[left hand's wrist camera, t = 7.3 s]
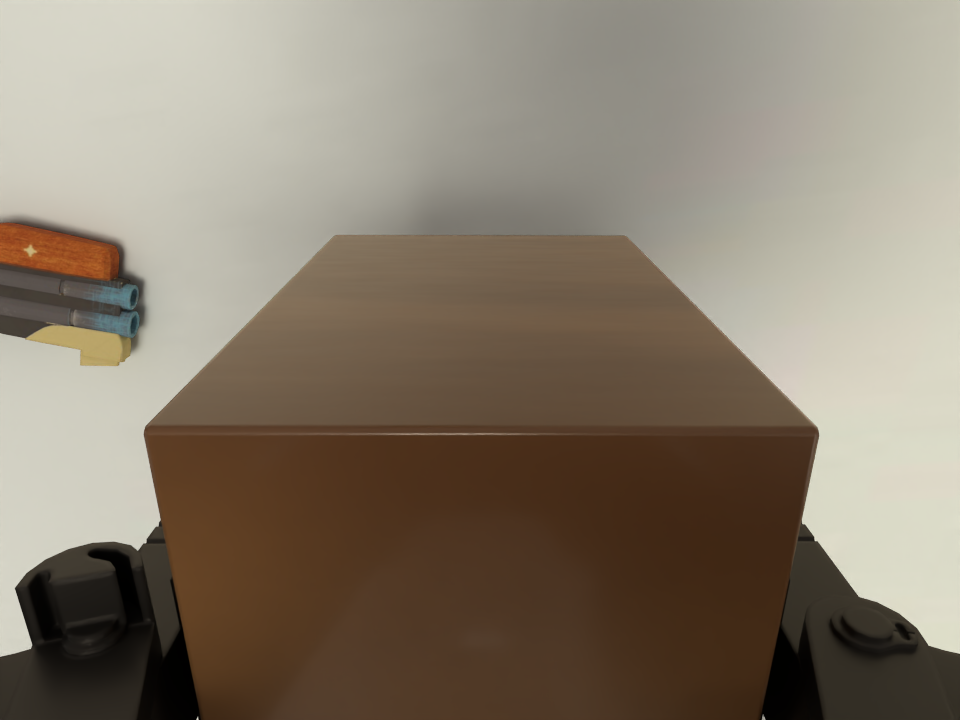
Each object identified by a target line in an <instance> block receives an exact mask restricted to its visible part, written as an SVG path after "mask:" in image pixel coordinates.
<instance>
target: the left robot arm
mask: <svg viewBox="0 0 960 720" xmlns="http://www.w3.org/2000/svg"><path fill="white" fill-rule="evenodd" d="M15 590H16V593H17V596H18V600H19V603H20V606H21V609H22V613H23V616H24V619H25V622H26V625H27V629H28V632H29V635H30V638H31V642H32V648H31V649H29V650H26V651H22V652H19V653H15V654H11V655H7V656H2V657H0V720H196V719H197V717H198V719H199V720H201V717H200V712H199V707H198V702H197V697H196V692H195V687H194V682H193V677H192V672H191V667H190V662H189V657H188V652H187V647H186V642H185V637H184V632H183V627H182V622H181V617H180V612H179V607H178V602H177V597H176V592H175V587H174V582H173V577H172V572H171V567H170V562H169V557H168V552H167V547H166V542H165V538H164V533H163V528H162V523H161V521H160V522H159V527H155V529H154V530H153V532H152V533H151V534H150V536H149V537H148V538H147V543H146V544H143V545H142V546H141V548H140V549H139V550H138V551H137V550H136V549H135V548H134V547H132V546H131V545H127V544H122V543H117V542H102V543H91V544H87V545H83V546H79V547H75V548H71V549H68V550H66V551H64V552H61V553H59V554H57V555H55V556H53V557H50V558H48V559H46V560H44V561H43V562H42V563H40V564H39V565H37V566H36V567H35V568H33V569H32V570H30V571H29V572H28V573H26V575H25V576H24V577H23V579H22V580H21V581H20V582H19V584H18V585H17V586H16V587H15ZM763 715H764V717H765V719H766V720H960V654H958V653H953V652H949V651H944V650H941V649H938V648H934V647H931V646H928V644H927V643H926V641H925V640H924V638H923V637H922V635H921V634H920V632H919V631H918V629H917V628H916V627H915V626H913V625H912V624H911V623H910V622H909V621H907V620H906V619H905V618H904V617H903V616H901V615H900V614H899V613H897V612H895V611H893V610H891V609H889V608H887V607H885V606H883V605H881V604H879V603H877V602H874V601H871V600H867V599H864V598H860V597H859V596H858V595H857V594H856V592H855V591H854V590H853V588H852V587H851V586H850V584H849V583H848V582H847V580H846V579H845V578H844V576H843V575H842V574H841V572H840V571H839V570H838V568H837V567H836V566H835V564H834V563H833V562H832V560H831V559H830V558H829V556H828V555H827V554H826V552H825V551H824V549H823V548H822V547H821V545H820V544H819V543H818V541H814V536H813V535H812V533H811V532H810V531H809V529H808V528H807V527H806V525H805V524H802V520H801V525H800V530H799V535H798V540H797V545H796V549H795V554H794V559H793V564H792V569H791V573H790V578H789V583H788V588H787V593H786V597H785V602H784V607H783V612H782V617H781V622H780V626H779V631H778V636H777V641H776V646H775V650H774V655H773V660H772V665H771V670H770V674H769V679H768V684H767V689H766V694H765V698H764V703H763V708H762V713H761V718H760V720H762V716H763Z"/></svg>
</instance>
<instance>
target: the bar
mask: <svg viewBox="0 0 960 720" xmlns="http://www.w3.org/2000/svg"><path fill="white" fill-rule="evenodd" d="M144 438H145V443H146V448H147V453H148V458H149V463H150V468H151V473H152V478H153V483H154V488H155V493H156V498H157V503H158V508H159V513H160V518H161V523H162V528H163V533H164V538H165V542H166V547H167V552H168V557H169V562H170V567H171V572H172V577H173V582H174V587H175V592H176V597H177V602H178V607H179V612H180V617H181V622H182V627H183V632H184V637H185V642H186V647H187V652H188V657H189V662H190V667H191V672H192V677H193V682H194V687H195V692H196V697H197V702H198V707H199V712H200V717H201V720H760V718H761V713H762V708H763V703H764V698H765V694H766V689H767V684H768V679H769V674H770V670H771V665H772V660H773V655H774V650H775V646H776V641H777V636H778V631H779V626H780V622H781V617H782V612H783V607H784V602H785V597H786V593H787V588H788V583H789V578H790V573H791V569H792V564H793V559H794V554H795V549H796V545H797V540H798V535H799V530H800V525H801V520H802V516H803V511H804V506H805V501H806V496H807V492H808V487H809V482H810V477H811V472H812V468H813V463H814V458H815V453H816V448H817V444H818V439H819V431H818V428H817V427H816V426H815V425H814V424H813V423H812V422H811V421H810V420H809V419H808V418H807V417H806V416H805V415H804V414H803V413H802V412H801V411H800V410H799V409H798V408H797V407H796V406H795V405H794V404H793V403H792V402H791V401H790V400H789V399H788V398H787V397H786V396H785V395H784V394H783V393H782V392H781V391H780V390H779V389H778V388H777V387H776V386H775V385H774V384H773V383H772V382H771V381H770V380H769V379H768V377H767V376H766V375H765V374H764V373H763V372H762V371H761V370H760V369H759V368H758V367H757V366H756V365H755V364H754V363H753V362H752V361H751V360H750V359H749V358H748V357H747V356H746V355H745V354H744V353H743V352H742V351H741V350H740V349H739V348H738V347H737V346H736V345H735V344H734V343H733V342H732V341H731V340H730V339H729V338H728V337H727V336H726V335H725V334H724V333H723V332H722V331H721V330H720V329H719V328H718V327H717V326H716V325H715V324H714V323H713V322H712V321H711V320H710V319H709V318H708V317H707V316H706V315H705V314H704V313H703V312H702V311H701V310H700V309H699V308H698V307H697V306H696V305H695V304H694V303H693V302H692V301H691V300H690V299H689V298H688V297H687V296H686V295H685V294H684V293H683V292H682V291H681V290H680V289H679V288H678V287H677V286H676V285H675V284H674V283H673V282H672V281H671V280H670V279H669V278H668V277H667V276H666V275H665V274H664V273H663V272H662V271H661V270H660V269H659V268H658V267H657V266H656V265H655V264H654V263H653V262H652V261H651V260H650V259H649V258H648V257H647V256H646V255H645V254H644V253H643V252H642V251H641V250H640V249H639V248H638V247H637V246H636V245H635V244H634V243H633V242H632V241H631V240H630V239H629V238H628V237H626V236H570V235H335V236H334V237H333V238H332V239H331V240H330V241H329V242H328V243H327V244H326V245H325V246H324V247H323V248H322V249H321V250H320V251H319V252H318V253H317V254H316V255H315V256H314V257H313V258H312V259H311V260H310V261H309V262H308V263H307V264H306V265H305V266H304V267H303V268H302V269H301V270H300V271H299V272H298V273H297V274H296V275H295V276H294V277H293V278H292V279H291V280H290V281H289V282H288V283H287V284H286V285H285V286H284V287H283V288H282V289H281V290H280V291H279V292H278V293H277V294H276V295H275V296H274V297H273V298H272V299H271V300H270V301H269V302H268V303H267V304H266V305H265V306H264V307H263V308H262V309H261V310H260V311H259V312H258V313H257V314H256V315H255V316H254V317H253V318H252V319H251V320H250V321H249V322H248V323H247V324H246V325H245V326H244V327H243V328H242V329H241V330H240V331H239V332H238V333H237V335H236V336H235V337H234V338H233V339H232V340H231V341H230V342H229V343H228V344H227V345H226V346H225V347H224V348H223V349H222V350H221V351H220V352H219V353H218V354H217V355H216V356H215V357H214V358H213V359H212V360H211V361H210V362H209V363H208V364H207V365H206V366H205V367H204V368H203V369H202V370H201V371H200V372H199V373H198V374H197V375H196V376H195V377H194V378H193V379H192V380H191V381H190V382H189V383H188V384H187V385H186V386H185V387H184V388H183V389H182V390H181V391H180V392H179V393H178V394H177V395H176V396H175V397H174V398H173V399H172V400H171V401H170V402H169V403H168V404H167V405H166V406H165V407H164V408H163V409H162V410H161V411H160V412H159V413H158V414H157V415H156V416H155V417H154V418H153V419H152V420H151V421H150V422H149V423H148V424H147V425H146V427H145V430H144Z"/></svg>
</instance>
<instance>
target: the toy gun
mask: <svg viewBox="0 0 960 720" xmlns="http://www.w3.org/2000/svg"><path fill="white" fill-rule="evenodd" d="M118 269H119V253H118V250H117V247H116V246H114V245H110V244H106V243H102V242H98V241H94V240H89V239H85V238H81V237H77V236H72V235H68V234H63V233H58V232H54V231H49V230H44V229H40V228H35V227H30V226H26V225H21V224H16V223H0V333H2V334H7V335H12V336H17V337H22V338H25V339H27V340H31V341H36V342H42V343H47V344H53V345H58V346H64V347H69V348H75V349H80V350H81V360H80V365H88V366H118V365H119V362H124V361H125V359H126V358H127V357H129V356H130V352H131V339H130V338H133V337H134V336H135V335H136V333H137V330H138V327H139V315H138V312H137V311H131V310H133V309H134V308H135V307H136V305H137V302H138V296H139V290H138V287H137V285H131V284H129V281H130V280H126V279H121V278H118Z"/></svg>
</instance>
